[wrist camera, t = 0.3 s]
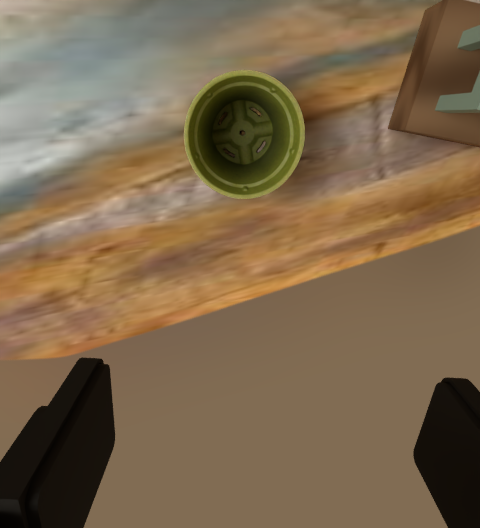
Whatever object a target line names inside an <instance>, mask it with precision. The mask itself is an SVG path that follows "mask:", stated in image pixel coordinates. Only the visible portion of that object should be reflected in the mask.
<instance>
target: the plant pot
mask: <svg viewBox="0 0 480 528" xmlns="http://www.w3.org/2000/svg"><path fill="white" fill-rule="evenodd" d="M250 107H254V108H255V109H257V110H258V111H259V112H261V117H259V116H258V115H257V114H256V113H255V112H254V111H252V110H250ZM225 112H227V113H228V115H227V116H226V117H225V118H224V120H223V121H222V123H221V125H219V121H220V118H221V116H222V115H223V113H225ZM241 130H243V131H244V132H245V135H243V136H242V135H240V131H241ZM264 140H265V141H266V144H265V146H264V147H263V149H262V150H261V151H260V152H259V153H257V152H256V150H257V149H258V148H259V147H260V146H261V144H262V142H263V141H264ZM304 141H305V126H304V119H303V115H302V111H301V109H300V106H299V104H298V102H297V100H296V99H295V97H294V96H293V94H292V93H291V92H290V91H289V89H288V88H287V87H286V86H284V85H283V84H282V83H281V82H280V81H278V80H277V79H275V78H274V77H272V76H270V75H267V74H265V73H262V72H258V71H253V70H238V71H232V72H228V73H225V74H222V75H220V76H218V77H216V78H214V79H213V80H211V81H210V82H209V83H207V84H206V85H205V86H204V87H203V88H202V89H201V90H200V92H199V93H198V94H197V95H196V97H195V98H194V100H193V102H192V104H191V106H190V108H189V110H188V113H187V116H186V121H185V127H184V144H185V150H186V153H187V157H188V159H189V162H190V164H191V166H192V168H193V170H194V171H195V173H196V174H197V175H198V177H199V178H200V179H201V180H202V181H203V182H204V183H205V184H206V185H207V186H209V187H210V188H211V189H213V190H215V191H216V192H218V193H220V194H222V195H225V196H228V197H232V198H237V199H250V198H257V197H261V196H264V195H266V194H269V193H271V192H272V191H274V190H276V189H277V188H279V187H280V186H281V185H282V184H283V183H284V182H285V181H286V180H287V179H288V178H289V177H290V176H291V174H292V173H293V171H294V170H295V168H296V166H297V165H298V162H299V160H300V158H301V155H302V151H303V147H304ZM224 148H226V149H227V150H228V151H229V152H231V153H232V154H234V155H235V157H231V156H230V155H228V154H226V153H225V152H224Z"/></svg>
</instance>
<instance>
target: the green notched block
mask: <svg viewBox="0 0 480 528" xmlns="http://www.w3.org/2000/svg"><path fill="white" fill-rule="evenodd" d="M457 48H459V49H464V50H468V51H473V50H476V49H480V25H478V26H476V27H473V28H470V29H468V30H465V31H463V33H462V36H461V38H460V41H459V44H458V47H457ZM435 111H440V112H445V113H480V71H479V74H478V77H477V79H476V82H475V84H474V87H473V90H472V92H471V93H461V94H451V95H441V96H440V97H439V100H438V103H437V106H436V109H435Z"/></svg>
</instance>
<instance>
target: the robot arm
mask: <svg viewBox="0 0 480 528" xmlns="http://www.w3.org/2000/svg"><path fill="white" fill-rule="evenodd" d="M114 442H115V428H114V416H113V403H112V390H111V378H110V368H109V365H108V364H104V363H103V360H102V359H97V358H80V359H79V360H78V361H77V362H76V364H75V366H74V367H73V369H72V370H71V372H70V373H69V375H68V376H67V378H66V379H65V381H64V382H63V384H62V385H61V387H60V388H59V390H58V391H57V393H56V394H55V396H54V398H53V399H52V401H51V402H50V404H49V405H48V406H41V407H39V408H38V409H37V410H36V411H35V412H34V414H33V415H32V417H31V418H30V420H29V421H28V422H27V424H26V425H25V427H24V428H23V430H22V431H21V433H20V434H19V436H18V437H17V438H16V440H15V441H14V443H13V444H12V446H11V447H10V449H9V450H8V452H7V453H6V454H5V456H4V457H3V459H2V460H1V462H0V528H83V527H84V525H85V522H86V519H87V517H88V514H89V511H90V509H91V506H92V503H93V501H94V498H95V495H96V493H97V490H98V488H99V485H100V482H101V479H102V477H103V474H104V471H105V469H106V466H107V464H108V461H109V458H110V455H111V453H112V450H113V447H114ZM414 460H415V463H416V466H417V468H418V470H419V471H420V473H421V475H422V477H423V479H424V481H425V483H426V485H427V487H428V489H429V491H430V493H431V495H432V497H433V499H434V501H435V503H436V505H437V507H438V509H439V510H440V513H441V515H442V517H443V518H444V521H445V522H446V524H447V526H448V528H480V392H479V391H478V389H477V388H476V387H475V386H474V385H473V384H472V383H471V382H470V381H469V380H468V379H463V378H444V379H443V380H442V381H441V382H440V383H438V384H437V385H436V387H435V390H434V392H433V395H432V398H431V401H430V404H429V407H428V410H427V413H426V416H425V419H424V422H423V425H422V427H421V430H420V434H419V436H418V439H417V442H416V445H415V448H414Z"/></svg>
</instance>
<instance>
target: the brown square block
mask: <svg viewBox="0 0 480 528" xmlns="http://www.w3.org/2000/svg"><path fill="white" fill-rule="evenodd" d="M478 25H480V3H475V2H471V1H467V0H443V1H441V2H439V3H437V4H435V5H434V6H432V7H430V8H428V9H427V10H425V13H424V16H423V19H422V22H421V25H420V28H419V32H418V35H417V38H416V41H415V44H414V47H413V50H412V54H411V57H410V60H409V63H408V66H407V69H406V73H405V76H404V79H403V82H402V85H401V88H400V92H399V95H398V98H397V101H396V104H395V107H394V111H393V114H392V117H391V120H390V123H389V126H388V129H392V130H397V131H402V132H407V133H412V134H417V135H422V136H427V137H432V138H437V139H442V140H447V141H452V142H457V143H462V144H467V145H472V146H477V147H480V113H445V112H440V111H435V109H436V106H437V103H438V100H439V97H440V96H441V95H451V94H461V93H471V92H472V90H473V87H474V84H475V82H476V79H477V77H478V74H479V71H480V49H476V50H473V51H468V50H464V49H459V48H457V47H458V44H459V41H460V38H461V36H462V33H463V31H465V30H468V29H470V28H473V27H476V26H478Z"/></svg>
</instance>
